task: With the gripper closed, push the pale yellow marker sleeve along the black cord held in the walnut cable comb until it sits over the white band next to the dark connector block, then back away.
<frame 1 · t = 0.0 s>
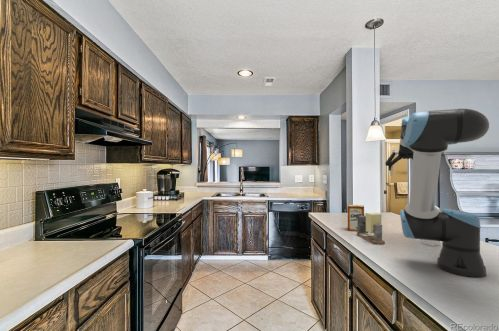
hand: (404, 174, 152), 36 cm above the countertop, tool tilted 35°, fingers open, 13 cm apart
milk: (430, 244, 136), on the countertop
marker sleeve: (373, 222, 141), point 10 cm above the countertop, slide at 0.0 cm
cable comb: (369, 239, 145), on the countertop
baking soda box: (355, 230, 165), on the countertop
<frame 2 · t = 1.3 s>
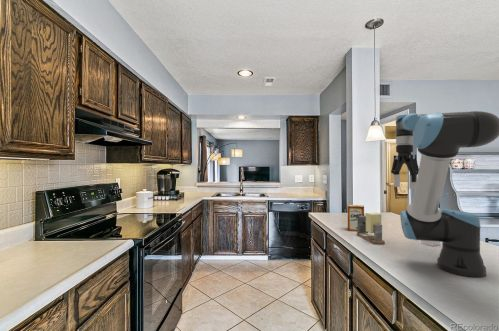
hand: (404, 187, 133), 30 cm above the countertop, tool pointing down, fingers open, 11 cm apart
nothing on the countertop moved.
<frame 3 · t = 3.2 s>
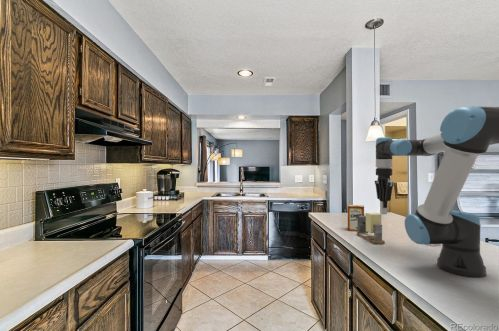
hand: (383, 213, 132), 17 cm above the countertop, tool pointing down, fingers closed
nothing on the countertop moved.
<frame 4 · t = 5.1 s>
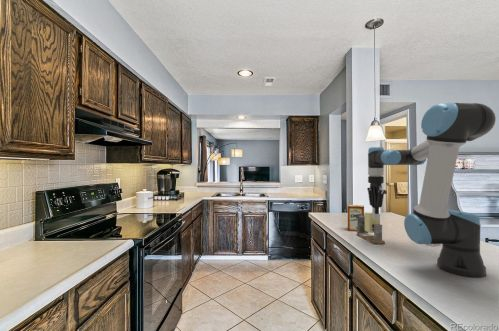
hand: (375, 219, 139), 12 cm above the countertop, tool pointing down, fingers closed
marker sleeve: (372, 222, 142), point 10 cm above the countertop, slide at 1.2 cm, touching gripper
everything else where it was.
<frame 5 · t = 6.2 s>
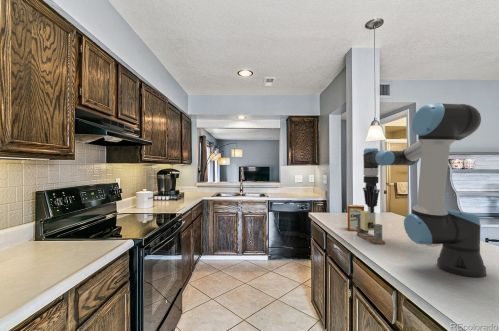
hand: (370, 218, 144), 12 cm above the countertop, tool pointing down, fingers closed
marker sleeve: (367, 220, 147), point 10 cm above the countertop, slide at 5.7 cm, touching gripper
everything else where it was.
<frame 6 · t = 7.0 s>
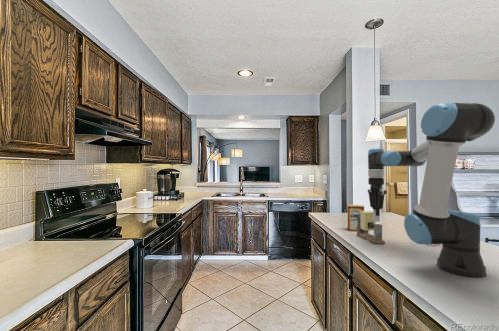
hand: (376, 221, 138), 11 cm above the countertop, tool pointing down, fingers closed
marker sleeve: (367, 220, 147), point 10 cm above the countertop, slide at 5.7 cm
everything else where it was.
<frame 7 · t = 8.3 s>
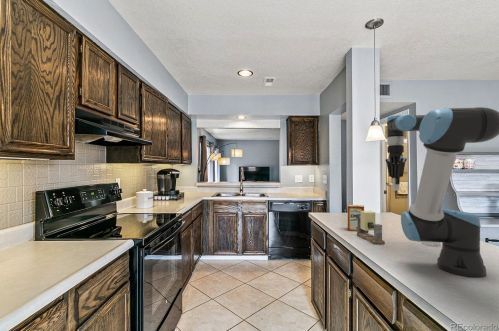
hand: (395, 190, 135), 28 cm above the countertop, tool pointing down, fingers closed
nothing on the countertop moved.
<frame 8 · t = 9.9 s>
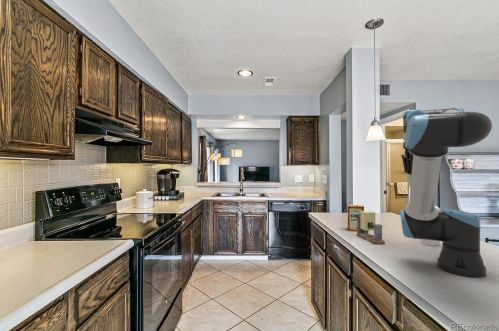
hand: (411, 186, 133), 30 cm above the countertop, tool pointing down, fingers closed
nothing on the countertop moved.
at the end: marker sleeve slide at 5.7 cm; the gripper is holding nothing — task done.
